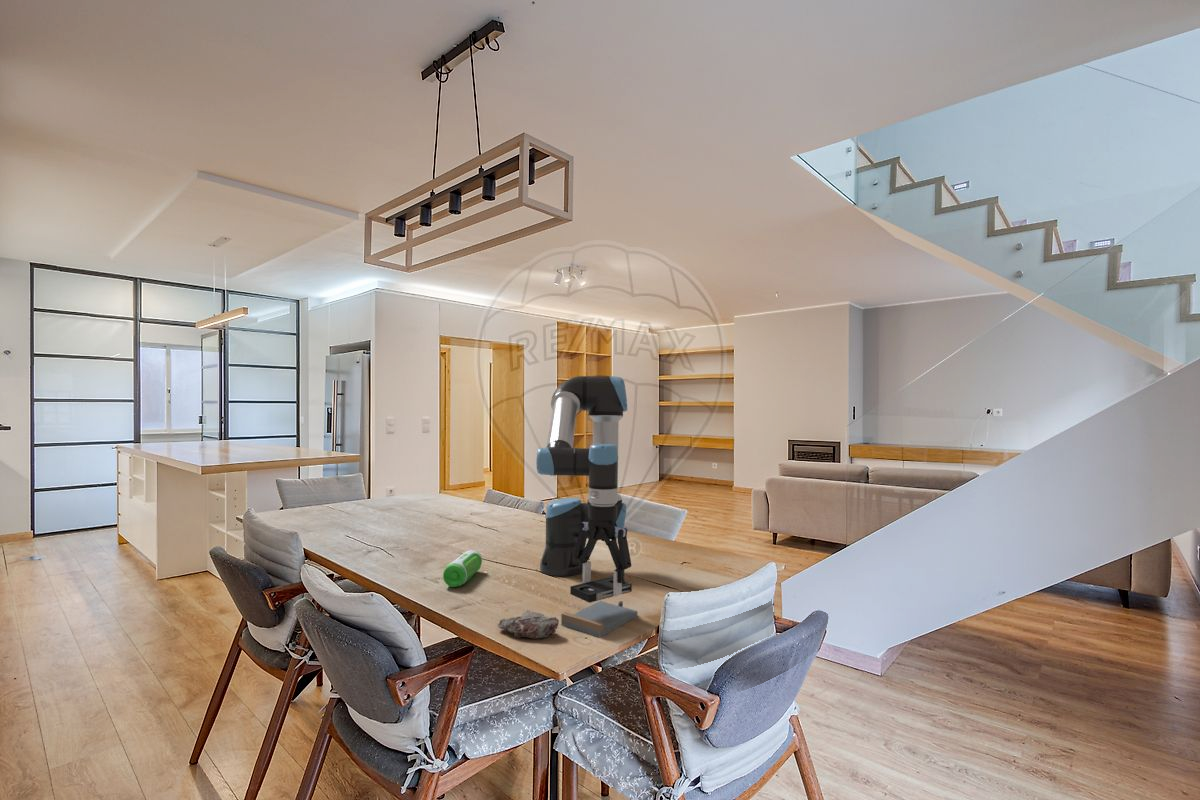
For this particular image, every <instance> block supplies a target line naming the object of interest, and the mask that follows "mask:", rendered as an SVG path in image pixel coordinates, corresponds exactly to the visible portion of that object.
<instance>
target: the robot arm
mask: <svg viewBox="0 0 1200 800" xmlns="http://www.w3.org/2000/svg"><path fill="white" fill-rule="evenodd" d="M625 384H626V383H625V380H624V378H622V377H619V376H611V375H606V376H605V375H603V376H602V375H601V376H599V375H596V376H595V375H592V376H584V375H578V376H573V377H571V378H568V379H566V380H565V381H563V382H562V383H561V384H560V385H559V386H557V388H556V389H555V391H554V393H553V394H552V396H551V400H550V407H551V410H552V412H551V420H550V423H549V424H550V425H549V431H548V437H547V442H546V446H545V447H540V448H539V449H537V451H536V472H537V473H538V474H539V475H542V476H543V475H544V476H545V475H546V476H553V477H554V476H584V477H585V476H588V496H587V502H582V499H581V498H579V497H566V498H565V497H564V498H560V499H559V498H558V499H555V500H552V501H550V502H549V503H548V504H547V505H546V507H545V508H546V509H545V510H546V511H545V517H544V518H545V546H544V550H543V553H542V556H541V560H540V562H539V571H540V572H541V573H542V574H543V573H544V574H546V575H549V576H557V577H558V576H559V577H569V576H575V575H582V583H581V584H583V583H587V582H592V561H589V560H590V557H591V555H592V552H593V550H594V549H595V546H596V544H597V542H598V541H602V542H604V543H605V545H606V546H607V548H608V550H609V553H610V555H611V558H612V561H613V563H614V565H615V566H614V567H615V569H613V577H614V579H613V597H614V598H615V597H618V596H620V594H621V595H623V594H622V582H624V581H625V571H626V570H627V569H629V568H631V567H632V561H631V560H632V559H631V555H630V547H629V544H628V538H627V537H628V529H627V528H626V527H625V523H626V515H627V514H626V513H627V504H626V503H624V502H623V497H622V496H621V495H620V494H619V493H618V492H619V489H618V488H619V487H618V486H619V483H618V482H619V425H620V424H619V423H620V421H621V419H622V418H623V417H624V412H628V400H627V392H626V385H625ZM579 411H584V412H585V411H586V412H587V411H588V417H589V418H590V419H591V421H592V444H591V445H589V448H588V447H587V448H579V447H578V448H577V447H576V448H575V447H574V441H575V440H574V439H575V430H576V420H577V414H578V413H579Z"/></svg>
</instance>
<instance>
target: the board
mask: <svg viewBox="0 0 1200 800" xmlns="http://www.w3.org/2000/svg"><path fill="white" fill-rule="evenodd" d="M623 605H624V601H622V600H619V601H617V604H612V603H609V602H607V601H606V602H605V601H601V600H598V601H596V603H594V604H592V605H589V606H588V607H585V608H583V609H581V610H579V611H577V612H575V613H574V614H573V613H569V612H568V611H565V612H562V613H561V616H560V617H561V619H560V621H561V623H560V625H561V626H563V627H567V628H570V629H572V630H576V631H579V632H583V633H587V634H590V635H593V636H595V637H599V638H601V637H603V636H605V635H606V634H608V633H611V631H613V630H615V629H617V628H618V627H621V626H622V625H624V624H625V623H627V622H629V621H630V620H632V619H634V618H636V617H637V616H638V610H637V609H636V610H635V609H632V608H628V607H624V606H623Z"/></svg>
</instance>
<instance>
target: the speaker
mask: <svg viewBox="0 0 1200 800" xmlns="http://www.w3.org/2000/svg"><path fill="white" fill-rule="evenodd" d="M482 563H483V557H482V556H481V554H480V553H479V552H478V551H477V550H472V549H471V550H466V551H464V552H463V553H462V554H461V555H459V556H458V557H456V558H455V559H454V560H453V561H451V562H450V563H448V564H447V566H446V567H445V569H444V571H443V574H442V577H443V581H444V583H445V584H446V585H447V586H449V587H452V588H457V587H460V586H462V585H464V584H466V583H467V582H468V581H470V579H472V577H474V575H475V574H476V573H477V572H478V571H479V570H480V568H482Z"/></svg>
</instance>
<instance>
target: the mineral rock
mask: <svg viewBox="0 0 1200 800" xmlns="http://www.w3.org/2000/svg"><path fill="white" fill-rule="evenodd" d="M496 626H497V628H499V629H501V630H503V631H505V632H509V633H511V634H514V637H515V638H519V637H520V639H521V638H530V639H534V640H535V639H536V640H537V639H541V638H547V637H549V635H555V633H556V632H557V631H556V630H558V627H559V618H557V617H556V616H553V617H549V616H546V615H544V614H542V613H540V612H537V611H536V612H535V611H532V612H531V611H530V610H526V611H524V612H523V613H522V614H521V615H518V616H515V617H510V618H506V619H500V620H499V623H498V624H497V625H496Z"/></svg>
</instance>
